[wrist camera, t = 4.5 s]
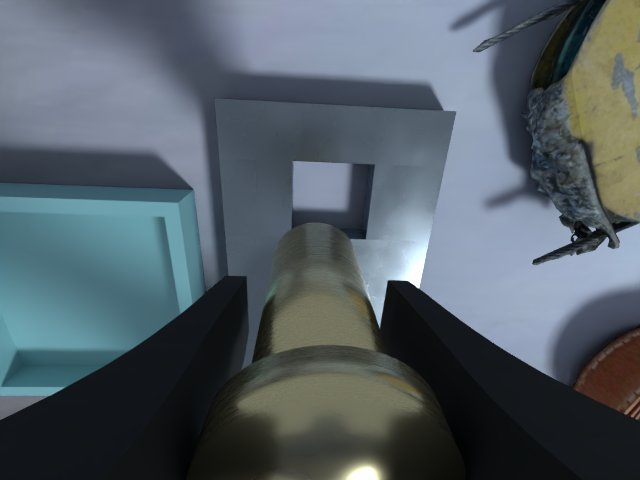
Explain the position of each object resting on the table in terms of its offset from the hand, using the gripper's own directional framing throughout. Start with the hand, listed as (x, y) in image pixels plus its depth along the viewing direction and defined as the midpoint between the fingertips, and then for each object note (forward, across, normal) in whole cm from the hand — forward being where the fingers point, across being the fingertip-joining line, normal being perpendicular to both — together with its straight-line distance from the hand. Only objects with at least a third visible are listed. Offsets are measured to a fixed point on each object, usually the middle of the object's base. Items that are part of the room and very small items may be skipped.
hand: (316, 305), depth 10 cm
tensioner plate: (+10, -1, +3) cm, 11 cm away
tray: (+10, +14, +6) cm, 19 cm away
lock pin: (+3, 0, 0) cm, 3 cm away
